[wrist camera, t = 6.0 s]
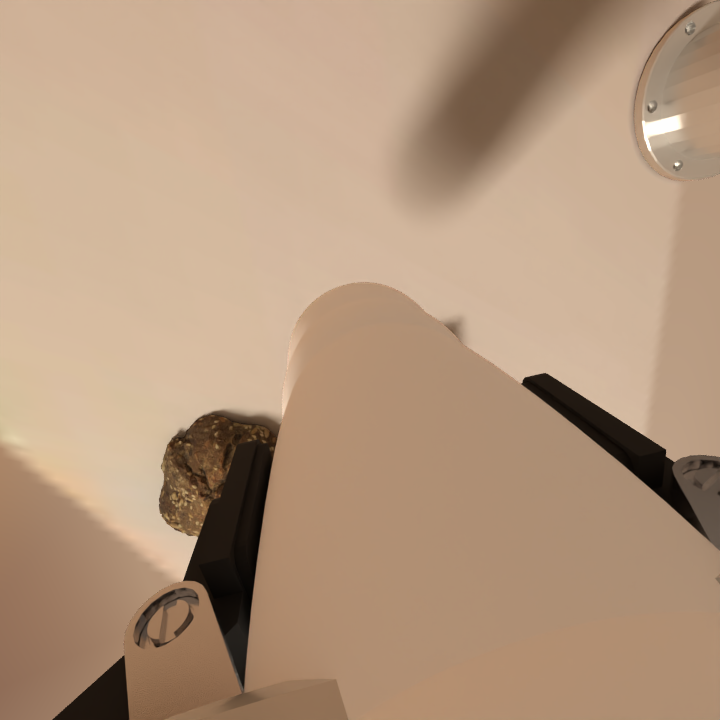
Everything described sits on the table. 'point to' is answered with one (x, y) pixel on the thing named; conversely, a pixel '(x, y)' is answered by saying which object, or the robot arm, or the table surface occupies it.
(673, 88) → the robot arm
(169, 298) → the table surface
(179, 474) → the bread roll
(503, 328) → the table surface
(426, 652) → the water bottle
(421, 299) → the table surface
